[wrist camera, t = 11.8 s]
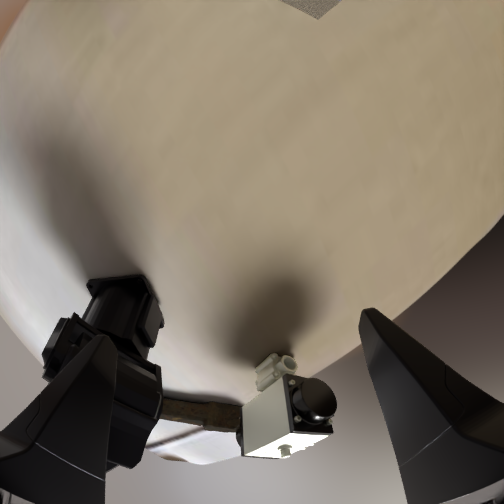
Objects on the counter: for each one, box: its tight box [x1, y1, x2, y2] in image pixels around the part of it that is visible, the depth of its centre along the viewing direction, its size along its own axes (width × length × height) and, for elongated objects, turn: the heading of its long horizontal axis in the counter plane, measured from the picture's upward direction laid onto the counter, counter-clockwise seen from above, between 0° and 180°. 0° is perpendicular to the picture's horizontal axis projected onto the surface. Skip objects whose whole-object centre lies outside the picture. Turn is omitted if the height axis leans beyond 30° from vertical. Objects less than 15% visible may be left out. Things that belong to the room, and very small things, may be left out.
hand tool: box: [159, 398, 242, 432], centre depth 34 cm, size 19×4×5 cm, turn 75°
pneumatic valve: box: [236, 353, 337, 459], centre depth 26 cm, size 6×12×12 cm, turn 149°
